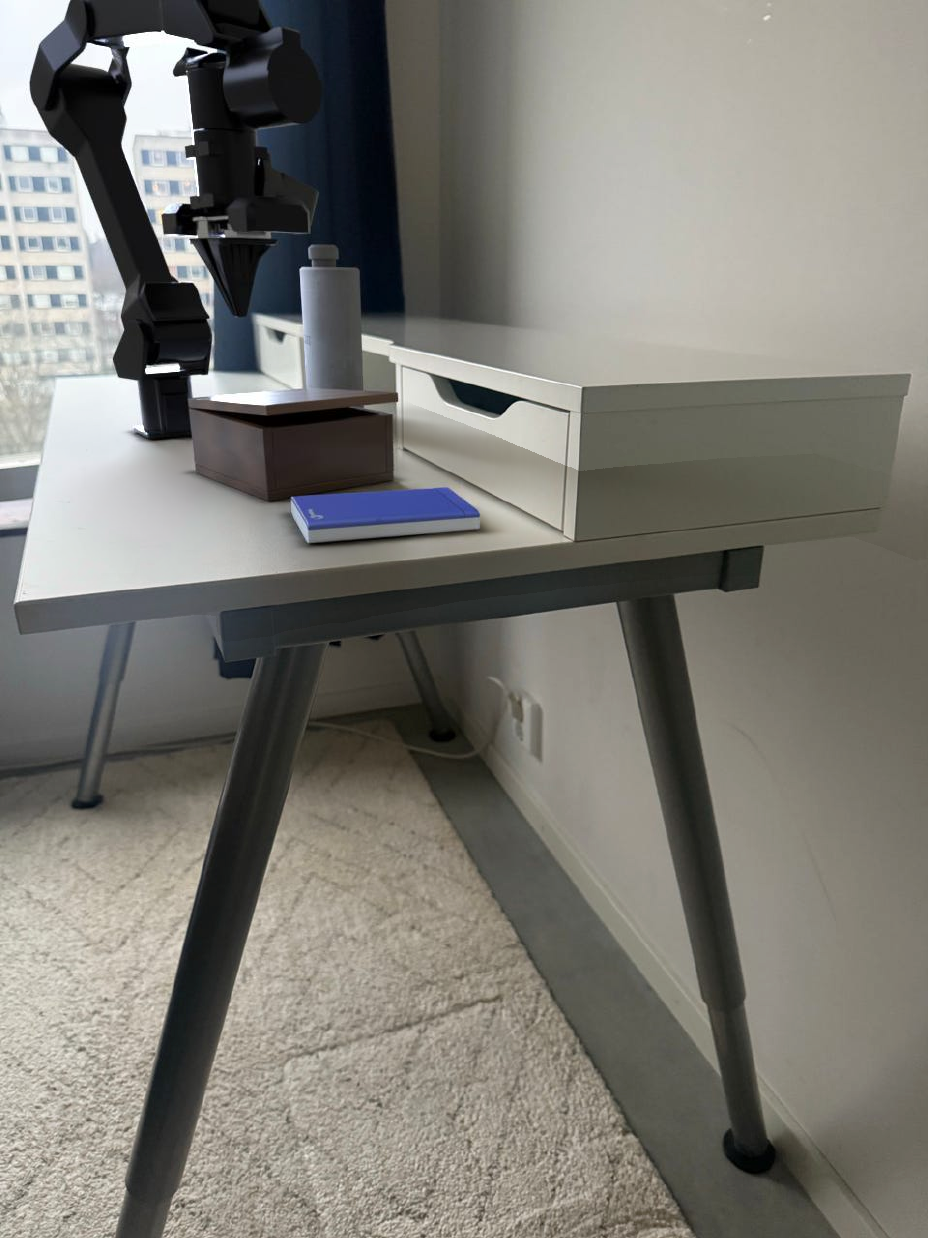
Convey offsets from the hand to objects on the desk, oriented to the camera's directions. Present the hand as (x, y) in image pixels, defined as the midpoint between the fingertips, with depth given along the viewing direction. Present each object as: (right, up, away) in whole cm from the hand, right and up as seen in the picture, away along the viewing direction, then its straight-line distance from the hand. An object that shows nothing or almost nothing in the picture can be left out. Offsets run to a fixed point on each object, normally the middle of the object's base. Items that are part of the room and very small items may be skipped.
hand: (240, 316), depth 83 cm
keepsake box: (+6, -16, -6) cm, 18 cm away
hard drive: (+16, -22, -19) cm, 34 cm away
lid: (+7, -11, -8) cm, 15 cm away
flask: (+5, -4, +26) cm, 27 cm away
